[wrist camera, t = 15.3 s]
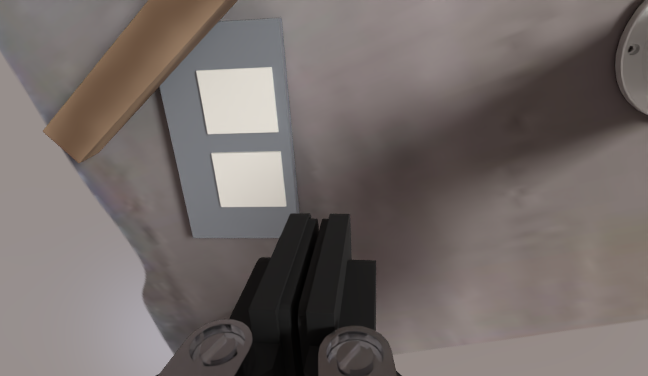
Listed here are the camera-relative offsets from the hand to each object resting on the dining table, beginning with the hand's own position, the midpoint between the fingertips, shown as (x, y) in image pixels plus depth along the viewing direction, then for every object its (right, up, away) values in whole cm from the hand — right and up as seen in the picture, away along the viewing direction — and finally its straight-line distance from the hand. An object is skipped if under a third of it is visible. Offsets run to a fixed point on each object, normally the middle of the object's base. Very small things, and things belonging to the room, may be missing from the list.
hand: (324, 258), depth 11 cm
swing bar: (-15, +14, +23) cm, 31 cm away
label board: (-9, +7, +29) cm, 31 cm away
